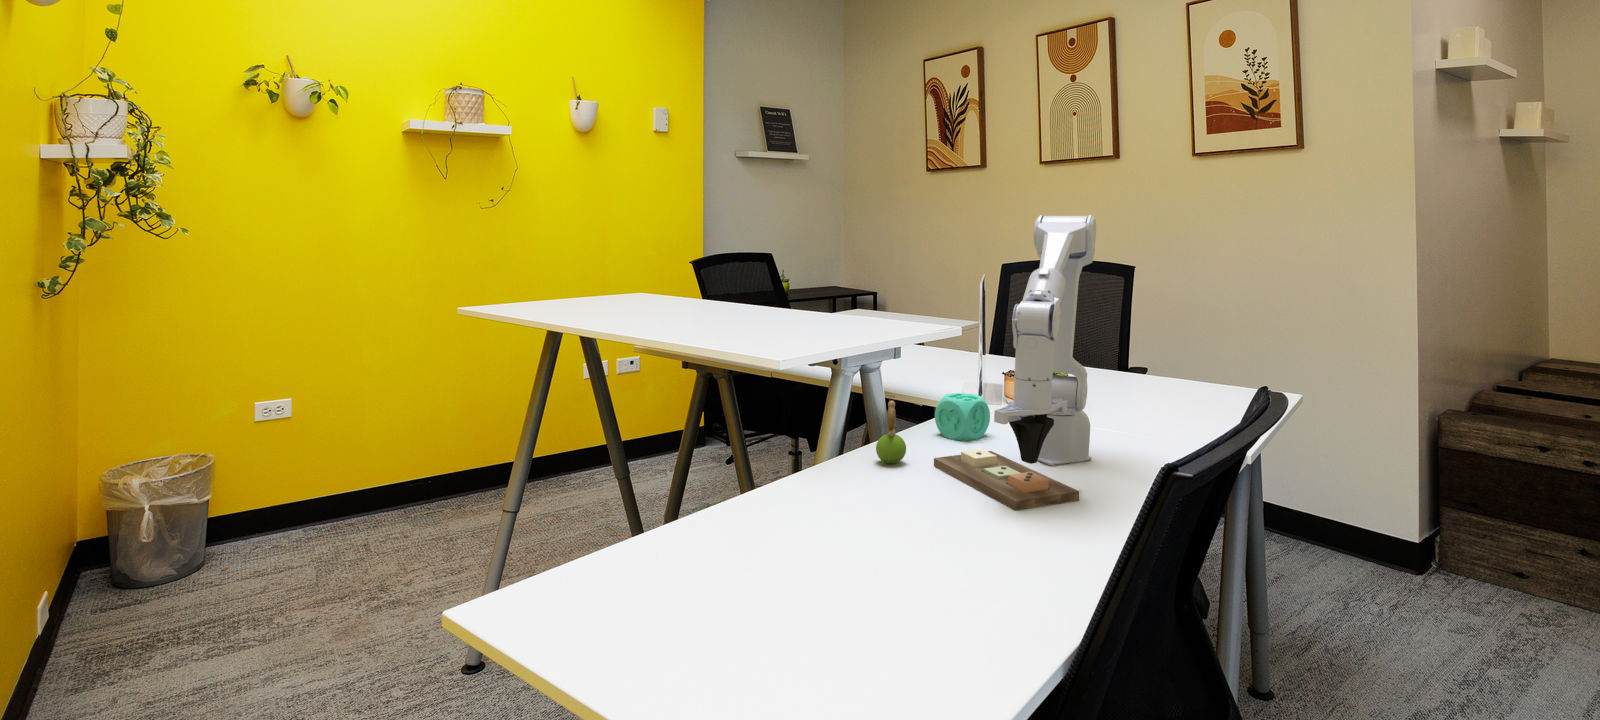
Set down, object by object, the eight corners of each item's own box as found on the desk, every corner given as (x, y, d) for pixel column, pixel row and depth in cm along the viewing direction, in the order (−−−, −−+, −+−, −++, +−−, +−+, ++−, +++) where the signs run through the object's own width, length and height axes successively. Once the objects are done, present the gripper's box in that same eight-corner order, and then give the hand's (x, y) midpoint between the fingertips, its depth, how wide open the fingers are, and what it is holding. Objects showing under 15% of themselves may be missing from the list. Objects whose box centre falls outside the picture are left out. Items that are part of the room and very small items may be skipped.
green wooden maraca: (905, 457, 152) (906, 394, 150) (906, 467, 146) (907, 402, 144) (875, 456, 153) (876, 393, 151) (875, 467, 147) (876, 401, 145)
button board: (990, 458, 151) (990, 450, 151) (1078, 500, 129) (1079, 491, 129) (933, 466, 147) (933, 457, 147) (1015, 510, 125) (1015, 500, 125)
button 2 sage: (1004, 476, 141) (1005, 464, 141) (1020, 484, 137) (1021, 472, 137) (983, 479, 140) (983, 467, 139) (998, 487, 136) (998, 475, 135)
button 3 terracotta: (1030, 483, 135) (1031, 470, 134) (1047, 491, 131) (1048, 478, 130) (1008, 486, 133) (1008, 474, 133) (1024, 495, 129) (1025, 482, 129)
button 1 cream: (981, 459, 147) (982, 448, 147) (996, 466, 143) (996, 455, 143) (960, 462, 146) (961, 451, 145) (974, 469, 142) (975, 457, 141)
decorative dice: (958, 428, 173) (959, 391, 172) (989, 436, 167) (991, 397, 166) (933, 435, 168) (934, 396, 167) (965, 443, 162) (966, 403, 161)
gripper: (1044, 369, 136) (1040, 448, 138) (981, 378, 128) (977, 462, 130) (1079, 375, 130) (1075, 458, 132) (1015, 386, 122) (1011, 474, 124)
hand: (1029, 461), depth 131 cm, fingers closed
